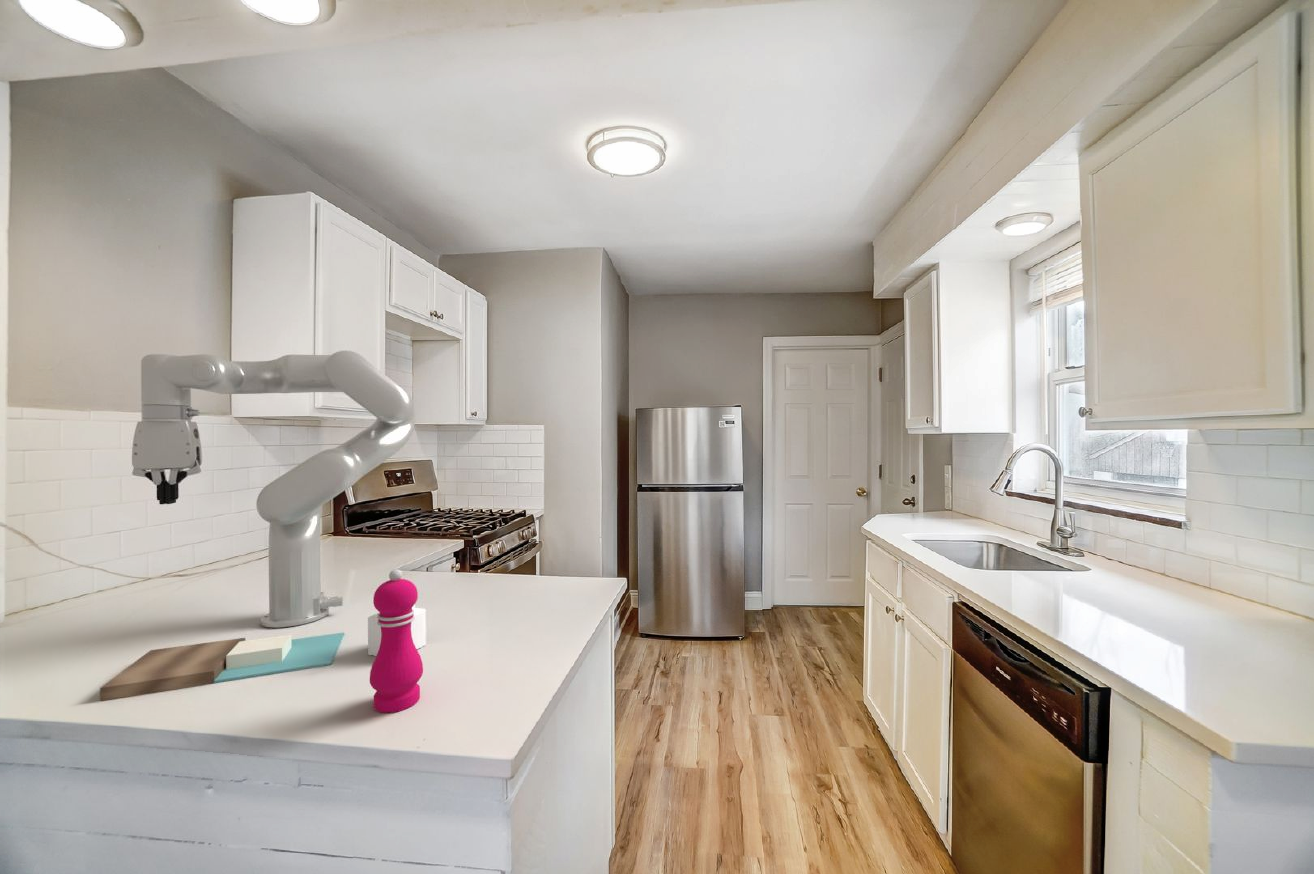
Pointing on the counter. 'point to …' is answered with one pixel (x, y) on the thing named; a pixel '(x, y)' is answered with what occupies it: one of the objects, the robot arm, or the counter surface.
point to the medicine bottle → (416, 630)
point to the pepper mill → (396, 647)
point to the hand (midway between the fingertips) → (167, 503)
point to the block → (258, 652)
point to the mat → (292, 658)
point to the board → (170, 669)
